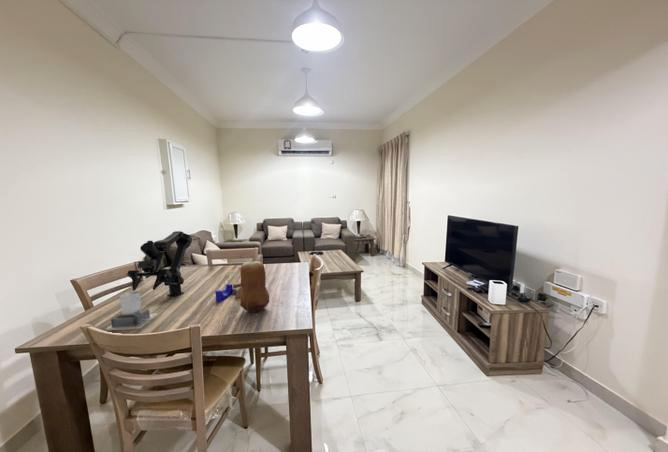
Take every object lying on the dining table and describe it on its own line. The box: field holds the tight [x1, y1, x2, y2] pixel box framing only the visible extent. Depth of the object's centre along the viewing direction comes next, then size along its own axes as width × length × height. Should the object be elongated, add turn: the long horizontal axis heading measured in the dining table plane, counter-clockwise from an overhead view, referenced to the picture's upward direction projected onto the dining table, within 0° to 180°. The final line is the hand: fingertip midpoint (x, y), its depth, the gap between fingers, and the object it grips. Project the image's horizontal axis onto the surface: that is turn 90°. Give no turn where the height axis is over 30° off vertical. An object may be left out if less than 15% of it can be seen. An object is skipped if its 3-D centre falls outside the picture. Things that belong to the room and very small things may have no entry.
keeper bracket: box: [105, 309, 159, 331], centre depth 120 cm, size 13×14×4 cm
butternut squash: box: [239, 260, 270, 313], centre depth 129 cm, size 14×13×25 cm
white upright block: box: [119, 291, 142, 318], centre depth 119 cm, size 5×5×13 cm
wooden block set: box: [232, 281, 242, 299], centre depth 158 cm, size 17×6×18 cm
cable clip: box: [215, 283, 234, 303], centre depth 149 cm, size 12×4×6 cm, turn 171°
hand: (143, 290), depth 127 cm, fingers open, 9 cm apart
